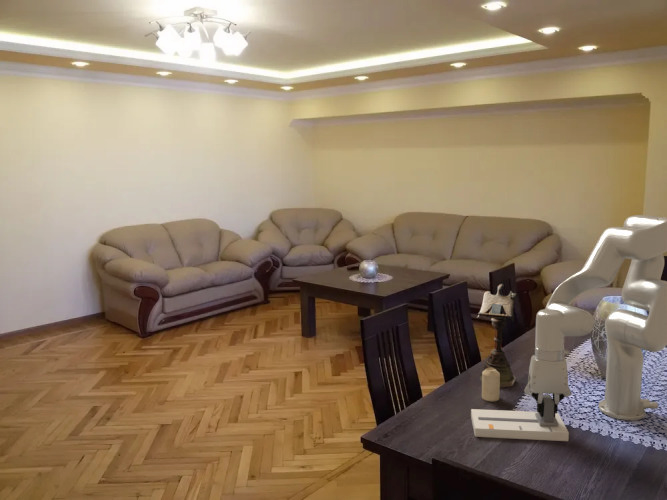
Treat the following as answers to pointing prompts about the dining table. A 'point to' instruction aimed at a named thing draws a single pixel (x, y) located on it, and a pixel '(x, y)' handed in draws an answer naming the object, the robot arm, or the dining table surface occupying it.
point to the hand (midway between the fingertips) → (546, 414)
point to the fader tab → (547, 412)
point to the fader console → (515, 425)
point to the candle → (490, 384)
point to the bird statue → (499, 332)
